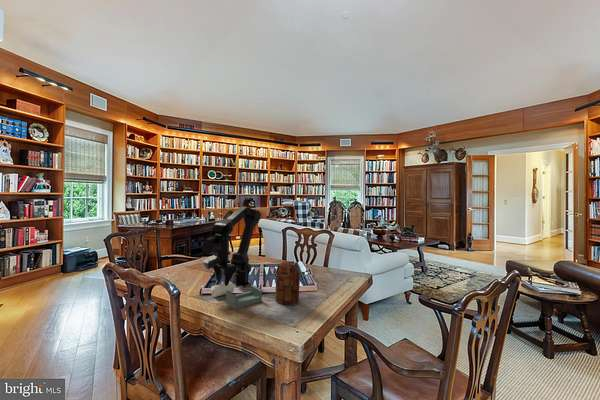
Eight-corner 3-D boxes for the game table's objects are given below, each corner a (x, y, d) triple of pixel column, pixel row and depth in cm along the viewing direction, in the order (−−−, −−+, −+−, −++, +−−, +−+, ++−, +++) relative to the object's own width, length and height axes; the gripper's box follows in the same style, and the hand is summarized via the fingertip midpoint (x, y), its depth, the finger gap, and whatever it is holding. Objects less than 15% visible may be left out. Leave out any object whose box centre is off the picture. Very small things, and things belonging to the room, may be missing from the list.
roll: (228, 287, 139) (230, 279, 137) (232, 295, 135) (235, 286, 133) (210, 292, 133) (212, 283, 131) (214, 299, 129) (216, 291, 127)
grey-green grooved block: (252, 295, 133) (252, 284, 133) (261, 301, 127) (261, 290, 127) (226, 302, 125) (226, 291, 124) (234, 309, 119) (234, 297, 118)
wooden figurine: (271, 302, 126) (272, 262, 124) (276, 297, 132) (277, 258, 130) (296, 307, 122) (298, 265, 121) (301, 301, 128) (302, 261, 127)
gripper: (197, 248, 135) (197, 280, 136) (213, 256, 120) (213, 293, 121) (219, 245, 142) (219, 276, 143) (237, 253, 127) (237, 287, 129)
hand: (221, 282), depth 134 cm, fingers open, 9 cm apart
